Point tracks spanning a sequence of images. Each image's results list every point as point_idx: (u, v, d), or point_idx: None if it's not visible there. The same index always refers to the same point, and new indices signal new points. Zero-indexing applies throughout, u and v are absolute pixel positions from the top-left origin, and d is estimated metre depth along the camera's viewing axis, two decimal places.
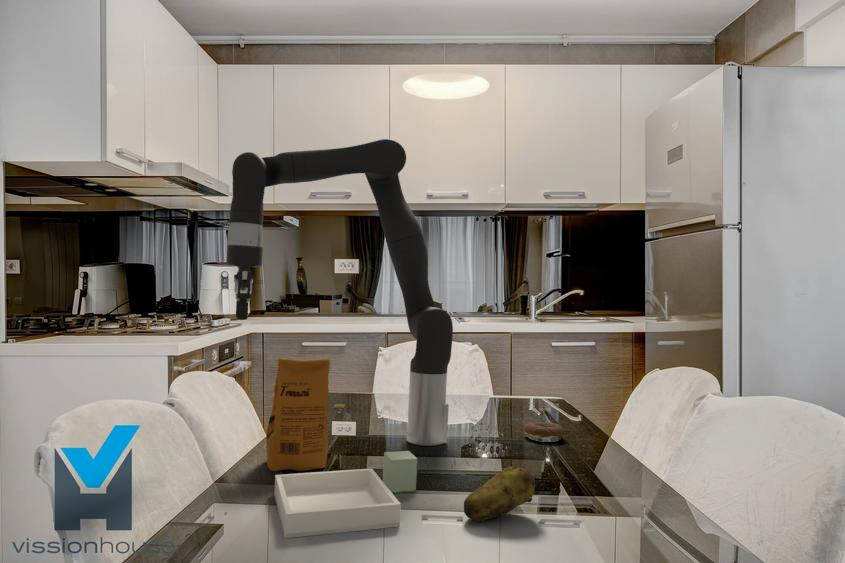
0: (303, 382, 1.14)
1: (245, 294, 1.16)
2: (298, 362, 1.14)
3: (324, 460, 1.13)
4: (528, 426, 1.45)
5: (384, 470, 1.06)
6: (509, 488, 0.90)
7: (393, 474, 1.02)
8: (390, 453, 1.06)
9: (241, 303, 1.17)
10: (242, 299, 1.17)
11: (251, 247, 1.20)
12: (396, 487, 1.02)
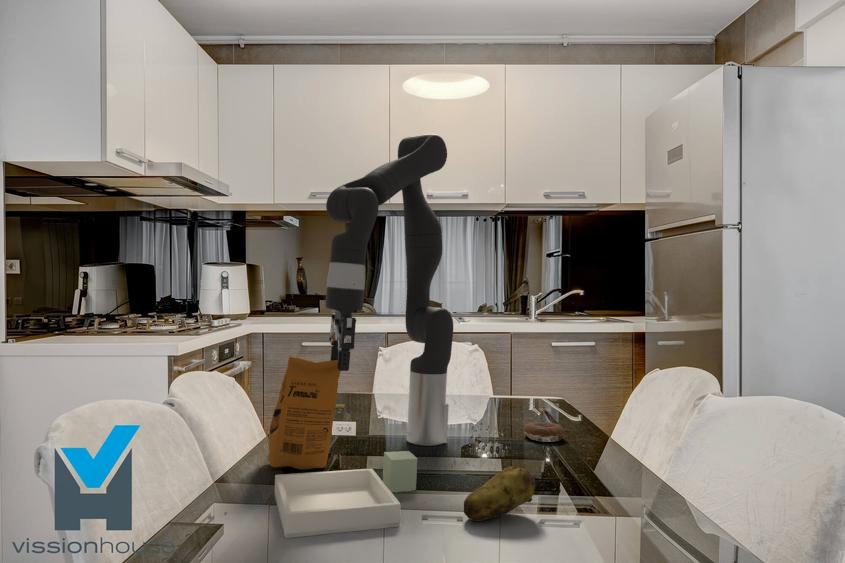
0: (312, 383, 1.11)
1: (349, 344, 1.05)
2: (309, 363, 1.10)
3: (325, 460, 1.13)
4: (528, 426, 1.45)
5: (384, 470, 1.06)
6: (509, 488, 0.90)
7: (393, 474, 1.02)
8: (390, 453, 1.06)
9: (343, 353, 1.06)
10: (345, 349, 1.05)
11: (354, 290, 1.08)
12: (396, 487, 1.02)
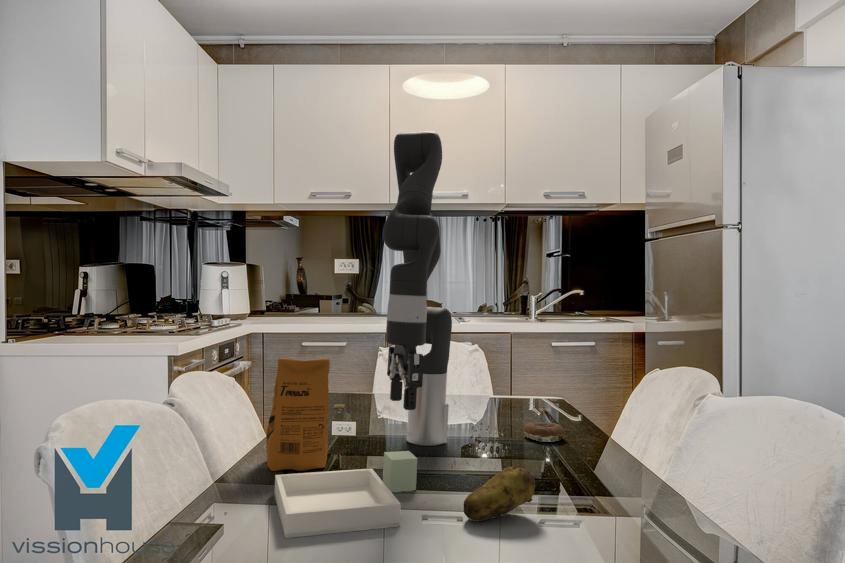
0: (303, 382, 1.14)
1: (417, 382, 0.99)
2: (298, 362, 1.14)
3: (324, 460, 1.13)
4: (528, 426, 1.45)
5: (384, 470, 1.06)
6: (509, 489, 0.90)
7: (393, 474, 1.02)
8: (390, 453, 1.06)
9: (410, 391, 1.00)
10: (413, 387, 0.99)
11: (418, 323, 1.02)
12: (396, 487, 1.02)
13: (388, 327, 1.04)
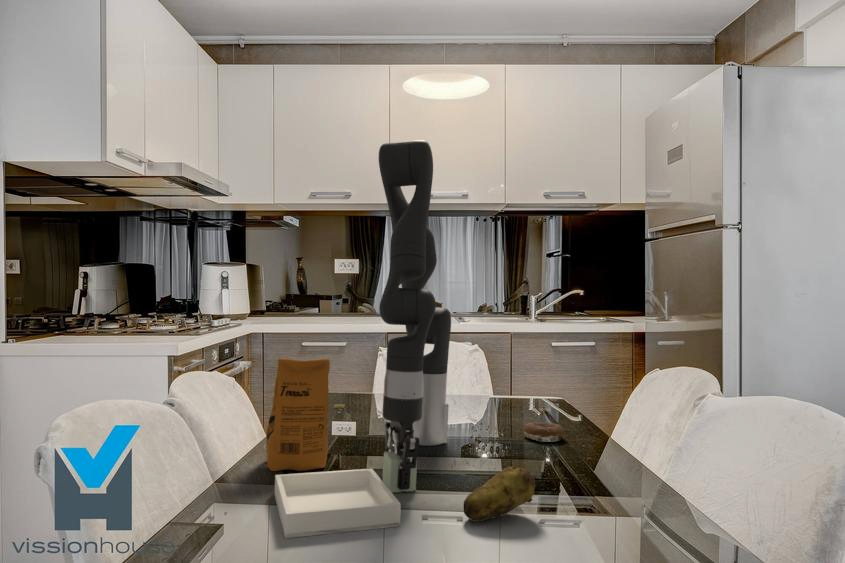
0: (303, 382, 1.14)
1: (411, 464, 1.00)
2: (298, 362, 1.14)
3: (324, 460, 1.13)
4: (528, 426, 1.45)
5: (384, 470, 1.06)
6: (509, 489, 0.90)
7: (393, 474, 1.02)
8: (390, 453, 1.06)
9: (404, 472, 1.01)
10: (407, 468, 1.00)
11: (414, 400, 1.02)
12: (396, 487, 1.02)
13: (385, 403, 1.03)
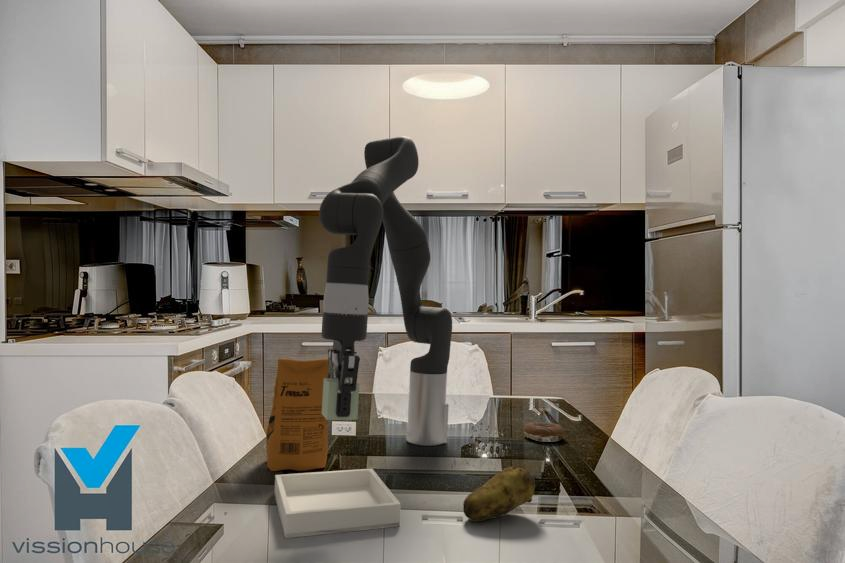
0: (303, 382, 1.14)
1: (350, 386, 0.88)
2: (298, 362, 1.14)
3: (324, 460, 1.13)
4: (528, 426, 1.45)
5: (323, 398, 0.94)
6: (509, 489, 0.90)
7: (331, 399, 0.90)
8: (330, 379, 0.94)
9: (343, 396, 0.89)
10: (346, 391, 0.88)
11: (356, 316, 0.90)
12: (334, 414, 0.90)
13: (323, 319, 0.91)
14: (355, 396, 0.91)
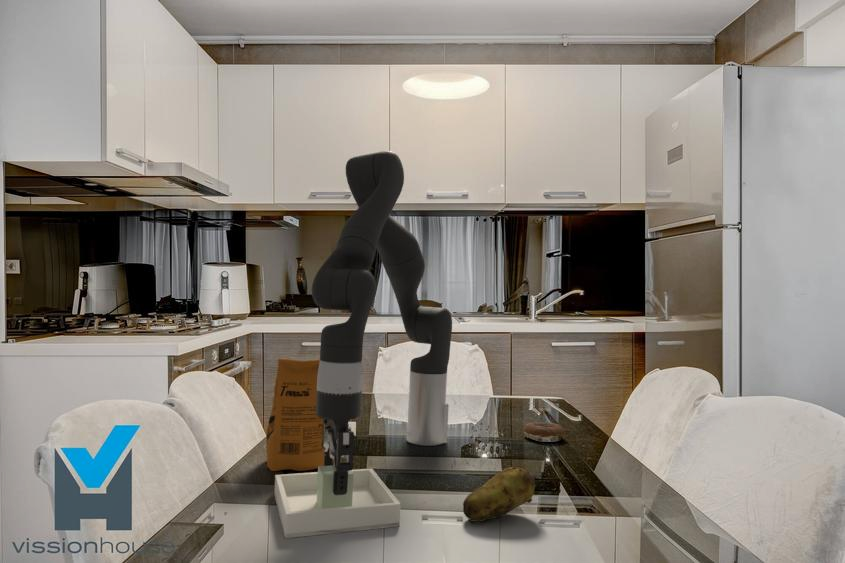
0: (303, 382, 1.14)
1: (347, 465, 0.86)
2: (298, 362, 1.14)
3: None
4: (528, 426, 1.45)
5: (317, 487, 0.93)
6: (509, 489, 0.90)
7: (325, 492, 0.89)
8: (324, 467, 0.93)
9: (340, 474, 0.87)
10: (342, 471, 0.87)
11: (350, 395, 0.90)
12: (328, 507, 0.90)
13: (317, 398, 0.91)
14: (349, 487, 0.91)
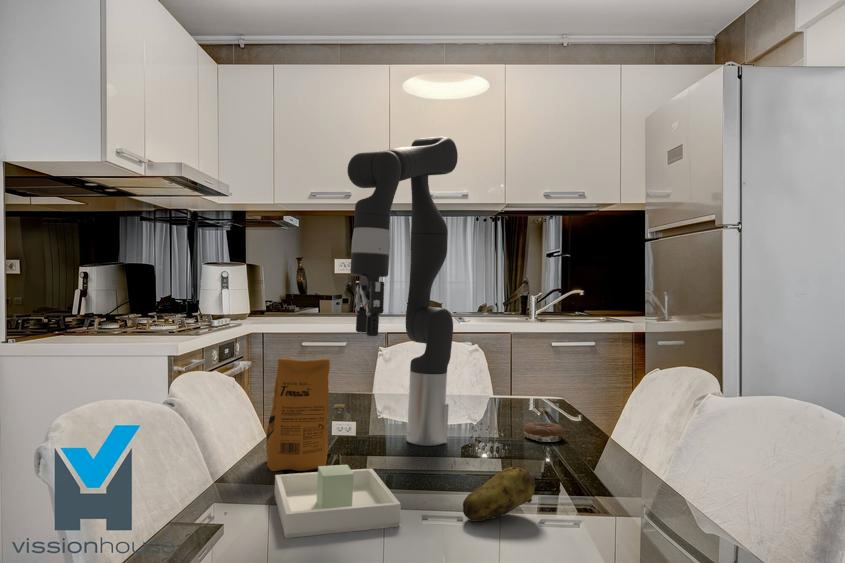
0: (303, 382, 1.14)
1: (378, 308, 1.03)
2: (298, 362, 1.14)
3: (324, 460, 1.13)
4: (528, 426, 1.45)
5: (317, 487, 0.93)
6: (509, 489, 0.90)
7: (325, 492, 0.89)
8: (324, 467, 0.93)
9: (372, 318, 1.05)
10: (374, 314, 1.04)
11: (380, 254, 1.07)
12: (328, 507, 0.90)
13: (352, 259, 1.08)
14: (349, 487, 0.91)
